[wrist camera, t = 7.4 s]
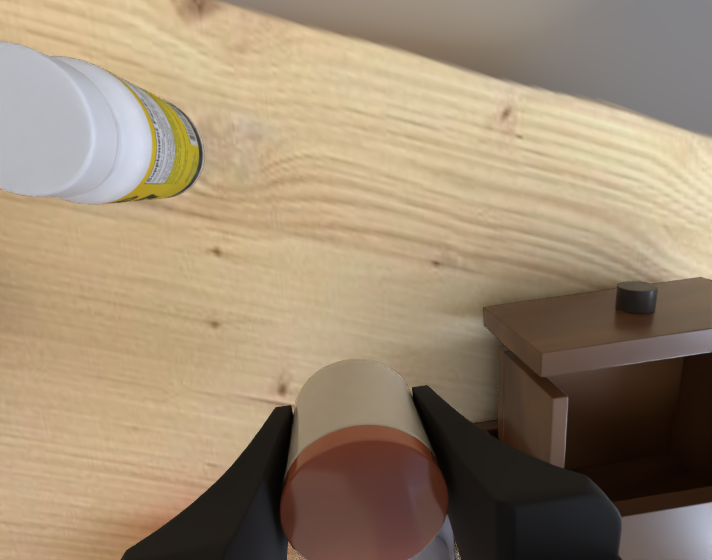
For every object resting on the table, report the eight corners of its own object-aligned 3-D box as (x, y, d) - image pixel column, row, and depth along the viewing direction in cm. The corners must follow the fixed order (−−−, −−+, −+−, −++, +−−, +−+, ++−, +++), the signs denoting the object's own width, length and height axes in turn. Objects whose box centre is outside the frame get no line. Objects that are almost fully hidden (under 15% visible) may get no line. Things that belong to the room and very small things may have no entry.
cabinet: (470, 423, 23) (534, 531, 16) (675, 392, 24) (826, 482, 17) (474, 569, 27) (528, 711, 20) (652, 539, 28) (768, 665, 20)
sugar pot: (304, 469, 14) (294, 586, 10) (284, 367, 13) (263, 454, 9) (417, 451, 15) (452, 559, 10) (408, 349, 13) (446, 426, 9)
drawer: (482, 287, 20) (542, 327, 14) (703, 257, 20) (843, 284, 15) (485, 477, 24) (534, 568, 18) (672, 447, 24) (775, 526, 19)
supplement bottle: (102, 182, 18) (-87, 180, 10) (114, 85, 17) (-89, -10, 9) (198, 209, 18) (96, 229, 10) (215, 117, 17) (117, 59, 9)
